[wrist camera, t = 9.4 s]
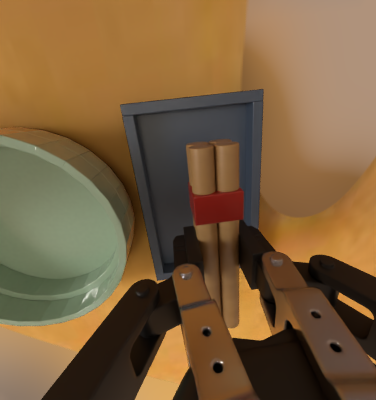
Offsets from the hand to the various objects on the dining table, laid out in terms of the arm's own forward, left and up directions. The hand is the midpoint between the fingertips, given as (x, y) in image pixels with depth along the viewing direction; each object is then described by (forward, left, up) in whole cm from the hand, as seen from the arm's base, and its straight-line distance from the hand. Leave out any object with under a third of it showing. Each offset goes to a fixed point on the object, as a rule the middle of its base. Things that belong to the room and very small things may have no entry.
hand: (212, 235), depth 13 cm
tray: (0, 0, -7) cm, 7 cm away
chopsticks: (0, 0, 0) cm, 0 cm away
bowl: (0, -14, -7) cm, 16 cm away
